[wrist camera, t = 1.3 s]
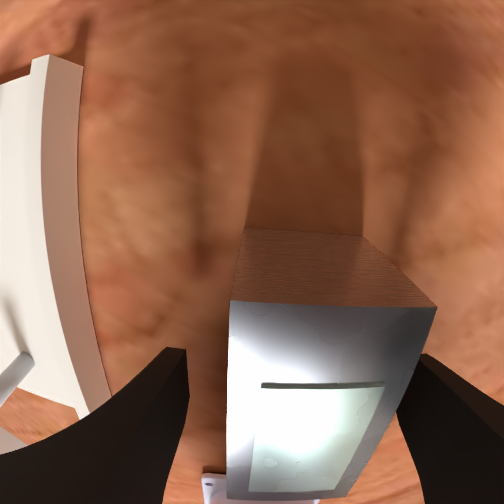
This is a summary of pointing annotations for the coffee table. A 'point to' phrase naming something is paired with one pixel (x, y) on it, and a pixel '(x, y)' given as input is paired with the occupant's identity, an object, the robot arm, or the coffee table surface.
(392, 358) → the grey rectangular block
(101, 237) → the coffee table surface
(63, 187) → the tray
